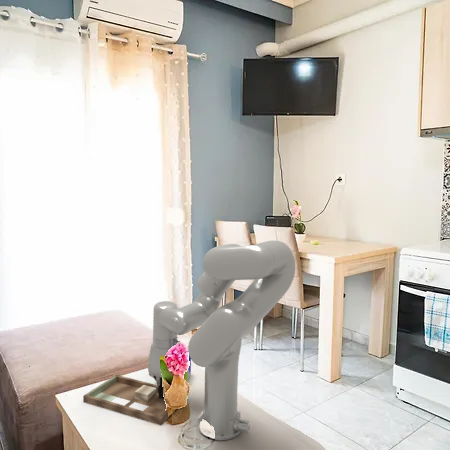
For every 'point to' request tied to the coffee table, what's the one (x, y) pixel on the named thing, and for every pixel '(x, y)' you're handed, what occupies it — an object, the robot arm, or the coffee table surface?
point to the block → (145, 393)
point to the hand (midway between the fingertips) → (163, 396)
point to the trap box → (126, 390)
